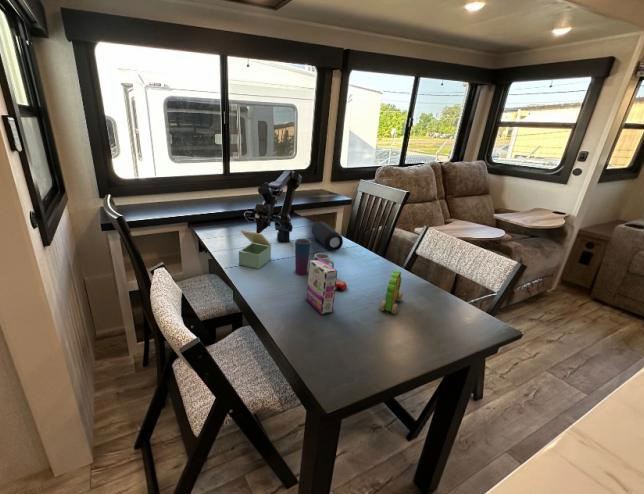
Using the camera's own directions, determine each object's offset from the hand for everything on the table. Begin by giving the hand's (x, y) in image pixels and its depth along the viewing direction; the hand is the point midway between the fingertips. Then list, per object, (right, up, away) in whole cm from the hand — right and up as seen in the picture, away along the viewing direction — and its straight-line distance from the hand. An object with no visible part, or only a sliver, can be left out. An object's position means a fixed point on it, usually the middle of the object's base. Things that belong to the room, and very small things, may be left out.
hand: (257, 234), depth 146 cm
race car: (+31, -23, -18) cm, 43 cm away
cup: (+20, -18, -7) cm, 28 cm away
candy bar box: (+24, -28, -32) cm, 49 cm away
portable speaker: (+37, -4, +28) cm, 47 cm away
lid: (-1, -2, 0) cm, 3 cm away
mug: (+31, -17, -4) cm, 35 cm away
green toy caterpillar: (+51, -29, -32) cm, 66 cm away
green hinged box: (-1, -13, +3) cm, 14 cm away
